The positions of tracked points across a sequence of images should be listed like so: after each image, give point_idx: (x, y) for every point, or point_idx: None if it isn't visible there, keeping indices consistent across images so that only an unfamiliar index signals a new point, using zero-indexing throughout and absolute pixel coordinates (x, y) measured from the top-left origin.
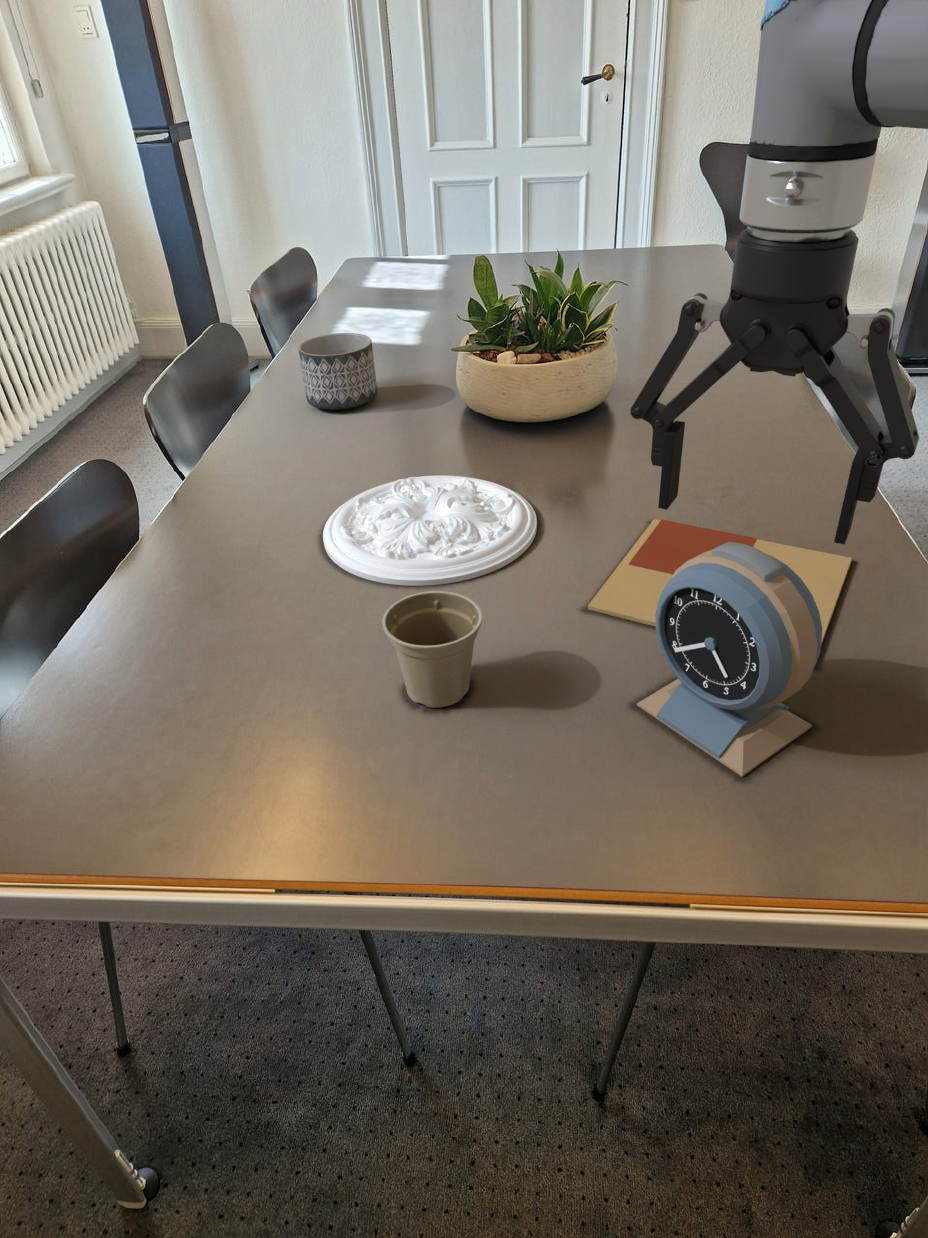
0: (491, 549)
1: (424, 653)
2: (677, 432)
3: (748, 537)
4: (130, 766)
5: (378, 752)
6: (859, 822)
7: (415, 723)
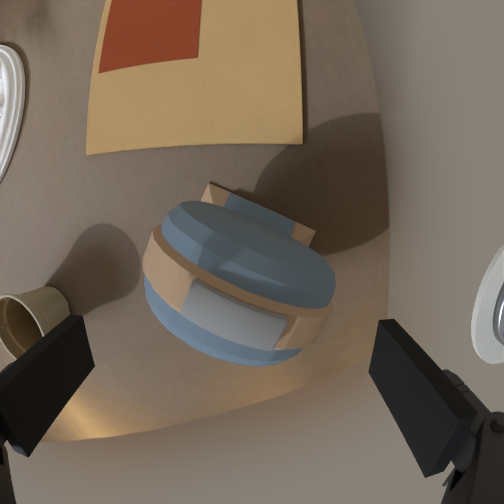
0: (2, 136)
1: None
2: (20, 440)
3: None
4: None
5: None
6: (355, 313)
7: None
